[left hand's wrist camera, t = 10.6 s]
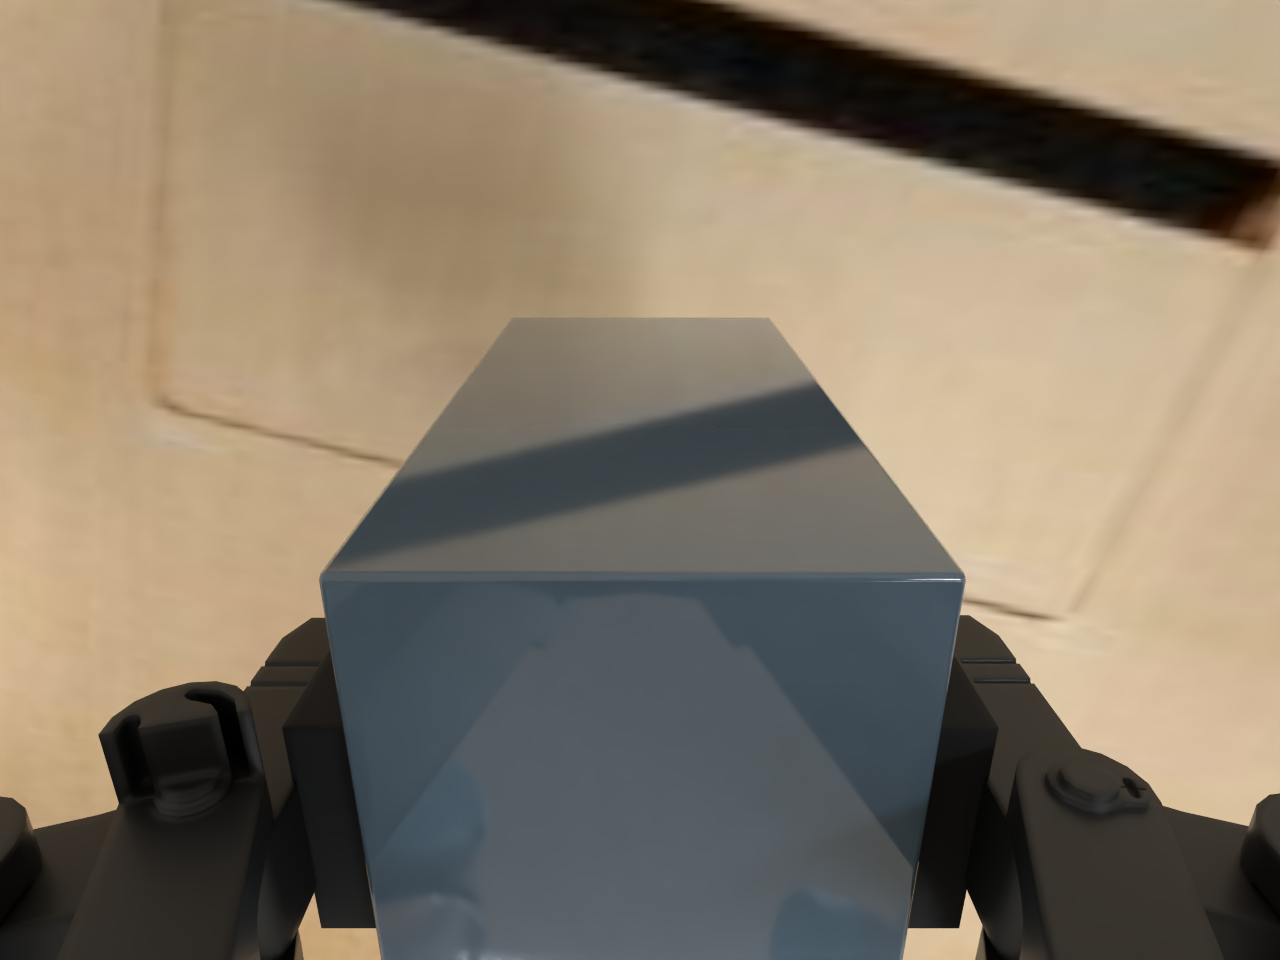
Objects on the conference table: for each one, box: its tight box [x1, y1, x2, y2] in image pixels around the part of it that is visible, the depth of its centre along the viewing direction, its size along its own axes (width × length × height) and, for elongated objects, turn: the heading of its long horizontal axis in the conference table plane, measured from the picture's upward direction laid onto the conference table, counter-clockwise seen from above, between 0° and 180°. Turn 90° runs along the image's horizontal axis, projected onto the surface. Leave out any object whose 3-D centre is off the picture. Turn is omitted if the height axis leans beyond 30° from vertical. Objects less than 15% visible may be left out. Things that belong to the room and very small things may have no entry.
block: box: [319, 318, 966, 960], centre depth 13 cm, size 7×6×11 cm
